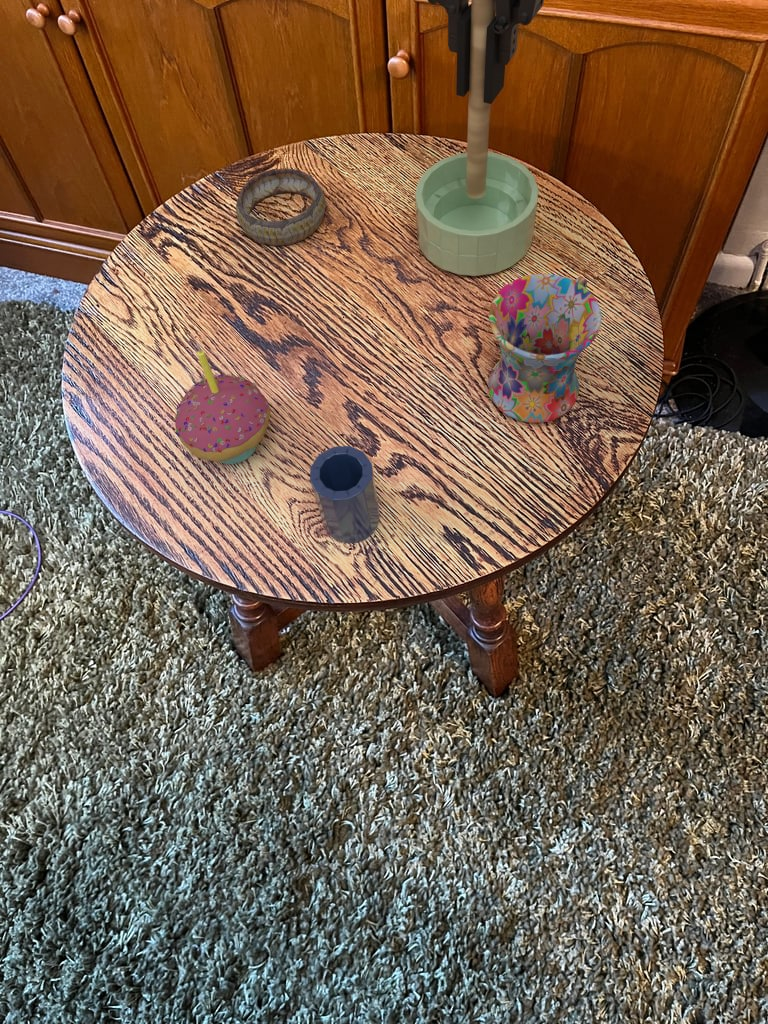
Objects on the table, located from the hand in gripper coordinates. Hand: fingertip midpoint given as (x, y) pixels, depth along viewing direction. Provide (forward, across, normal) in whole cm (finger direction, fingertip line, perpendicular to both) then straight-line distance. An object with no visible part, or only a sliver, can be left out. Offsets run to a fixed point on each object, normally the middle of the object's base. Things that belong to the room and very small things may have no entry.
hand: (480, 90), depth 69 cm
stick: (+11, 0, 0) cm, 11 cm away
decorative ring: (+17, -21, -6) cm, 28 cm away
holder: (+17, +5, -36) cm, 40 cm away
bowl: (+17, 0, 0) cm, 17 cm away
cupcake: (+17, -9, -34) cm, 39 cm away
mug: (+17, +14, -15) cm, 27 cm away
